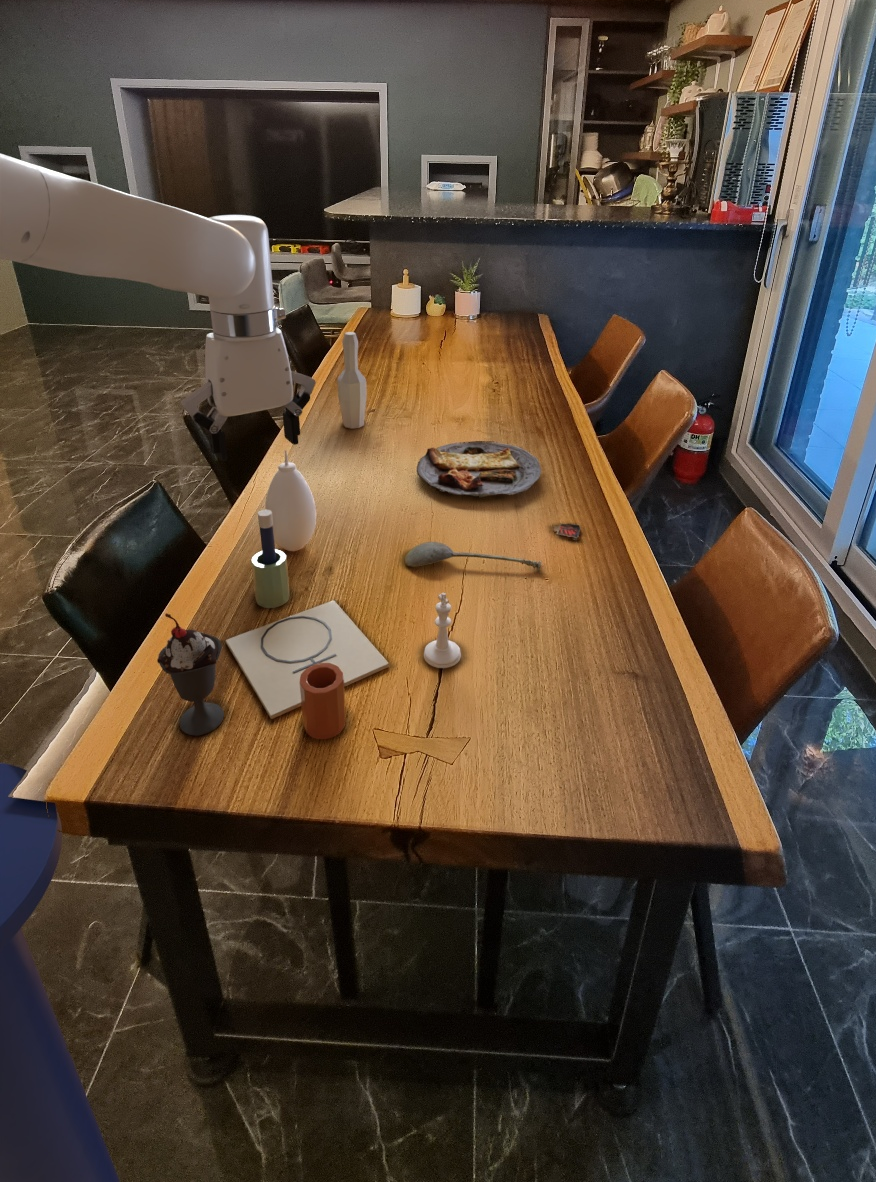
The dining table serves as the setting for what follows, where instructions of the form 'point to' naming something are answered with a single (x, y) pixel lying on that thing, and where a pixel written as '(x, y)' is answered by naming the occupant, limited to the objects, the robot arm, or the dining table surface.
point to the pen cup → (270, 580)
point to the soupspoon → (450, 555)
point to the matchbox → (568, 530)
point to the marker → (267, 536)
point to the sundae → (193, 676)
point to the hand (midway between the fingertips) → (257, 448)
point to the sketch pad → (302, 654)
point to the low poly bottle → (352, 385)
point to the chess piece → (442, 639)
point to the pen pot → (323, 700)
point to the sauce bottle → (291, 507)
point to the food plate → (479, 468)
